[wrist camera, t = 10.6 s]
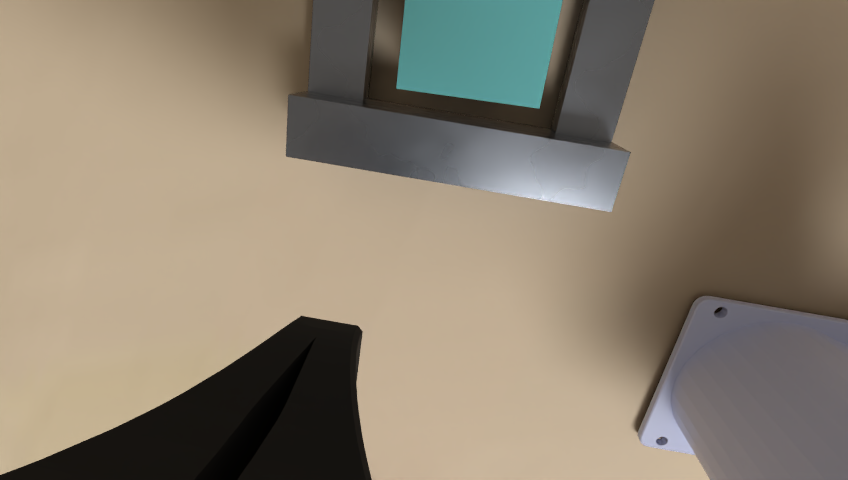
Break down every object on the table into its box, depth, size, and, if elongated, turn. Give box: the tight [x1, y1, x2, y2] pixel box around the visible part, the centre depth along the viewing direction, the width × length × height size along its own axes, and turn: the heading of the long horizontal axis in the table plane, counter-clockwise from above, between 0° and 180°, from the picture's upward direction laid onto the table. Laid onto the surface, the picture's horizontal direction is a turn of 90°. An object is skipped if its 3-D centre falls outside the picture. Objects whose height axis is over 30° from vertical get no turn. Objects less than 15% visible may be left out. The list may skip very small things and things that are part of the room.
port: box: [286, 0, 655, 212], centre depth 15 cm, size 11×9×3 cm
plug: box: [396, 0, 563, 108], centre depth 13 cm, size 4×4×6 cm
